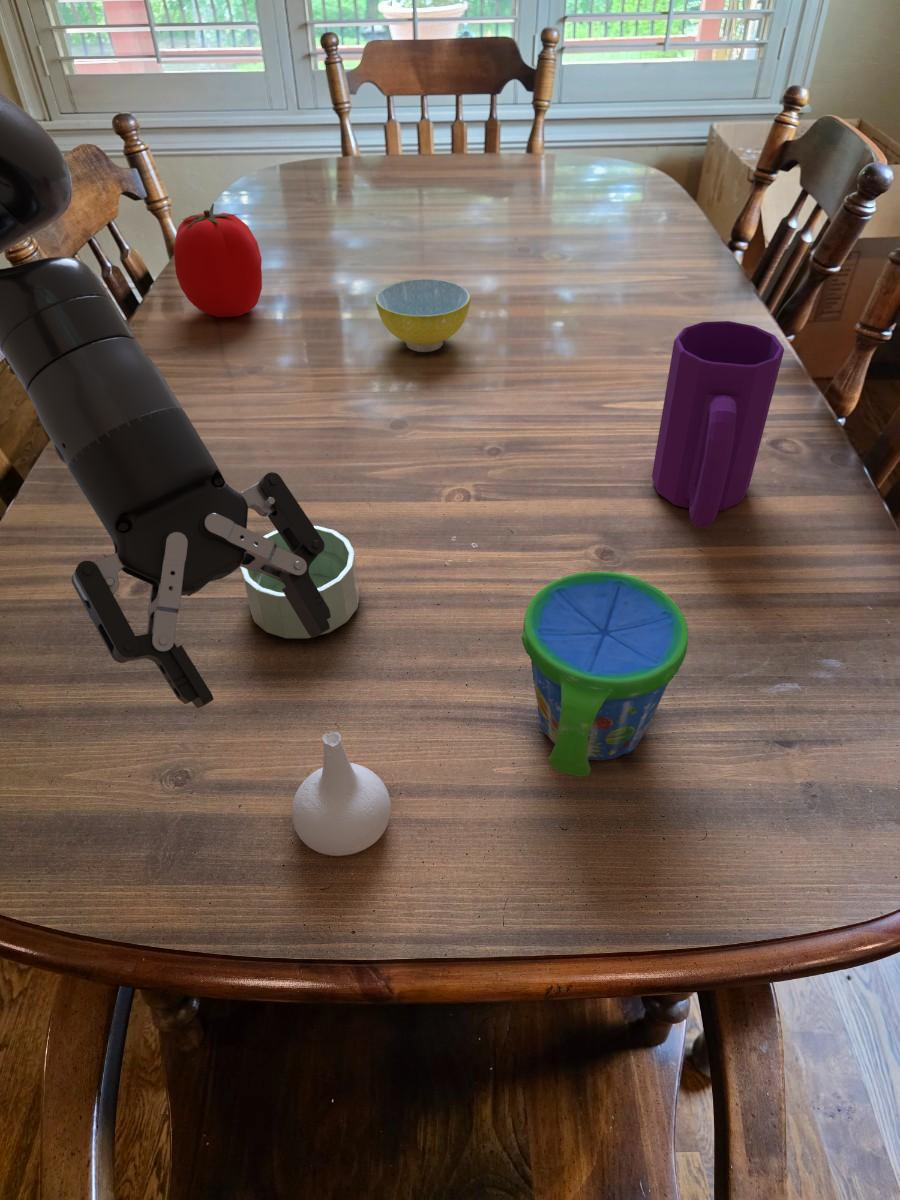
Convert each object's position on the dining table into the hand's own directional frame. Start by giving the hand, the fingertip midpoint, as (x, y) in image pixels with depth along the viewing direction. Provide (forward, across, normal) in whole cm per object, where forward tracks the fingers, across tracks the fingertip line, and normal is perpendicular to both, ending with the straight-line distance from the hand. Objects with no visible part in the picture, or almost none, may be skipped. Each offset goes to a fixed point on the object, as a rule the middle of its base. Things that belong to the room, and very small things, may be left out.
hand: (266, 667), depth 53 cm
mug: (+9, +46, +6) cm, 47 cm away
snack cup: (+16, +18, -1) cm, 24 cm away
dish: (-2, +11, +16) cm, 20 cm away
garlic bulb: (+12, 0, +3) cm, 12 cm away
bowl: (-22, +51, +37) cm, 67 cm away
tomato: (-41, +39, +56) cm, 79 cm away
